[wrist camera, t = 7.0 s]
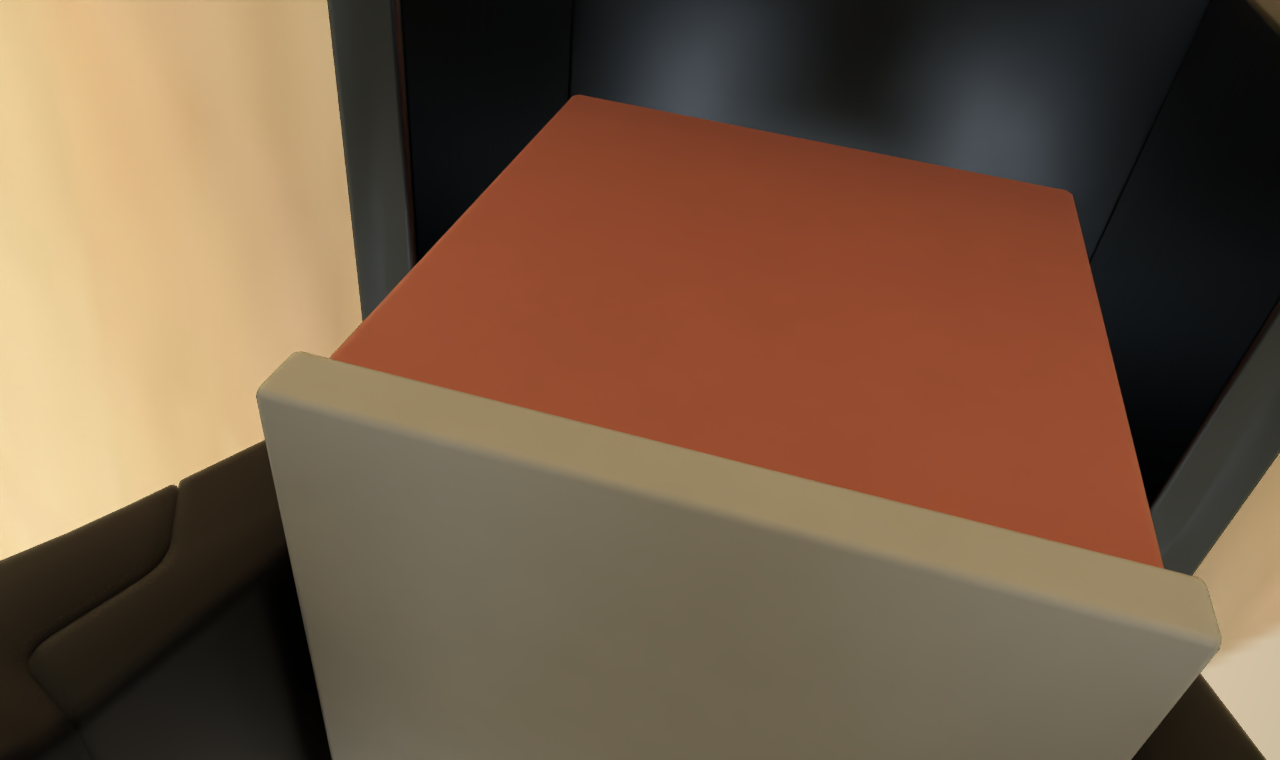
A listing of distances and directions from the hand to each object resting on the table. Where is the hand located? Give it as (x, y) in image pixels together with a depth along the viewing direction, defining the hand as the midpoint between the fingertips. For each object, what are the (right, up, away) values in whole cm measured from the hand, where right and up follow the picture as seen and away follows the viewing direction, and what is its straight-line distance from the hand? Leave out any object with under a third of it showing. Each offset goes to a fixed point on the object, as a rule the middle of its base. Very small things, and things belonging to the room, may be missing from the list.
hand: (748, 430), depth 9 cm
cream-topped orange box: (0, +1, +1) cm, 1 cm away
